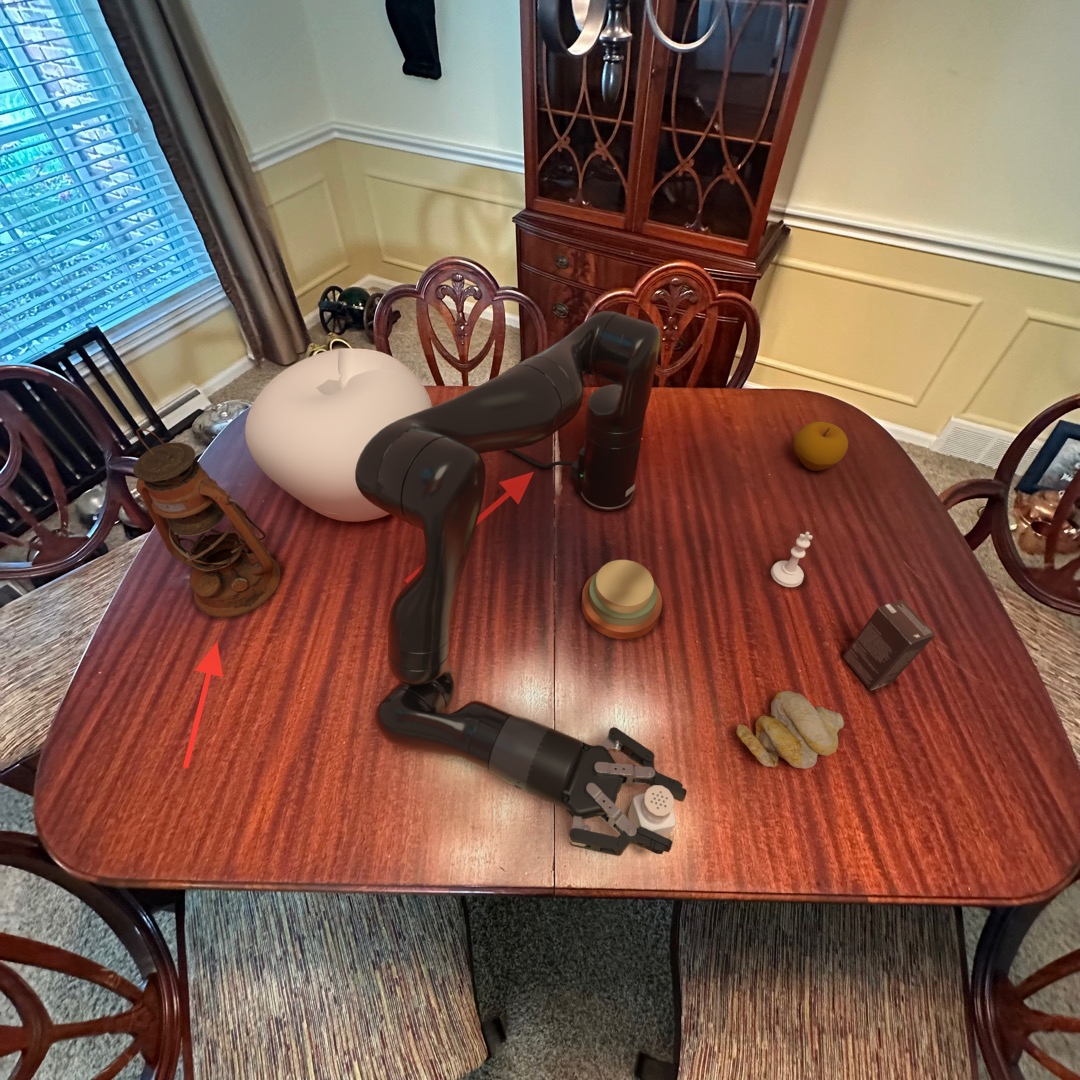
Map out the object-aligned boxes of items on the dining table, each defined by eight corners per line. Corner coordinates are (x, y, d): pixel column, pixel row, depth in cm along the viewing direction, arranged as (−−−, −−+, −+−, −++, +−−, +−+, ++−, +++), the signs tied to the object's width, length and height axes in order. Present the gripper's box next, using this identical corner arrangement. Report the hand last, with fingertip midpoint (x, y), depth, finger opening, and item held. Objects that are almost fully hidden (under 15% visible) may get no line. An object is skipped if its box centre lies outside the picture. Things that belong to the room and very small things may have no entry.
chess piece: (804, 589, 94) (827, 548, 86) (771, 584, 94) (791, 542, 87) (801, 565, 97) (823, 523, 89) (770, 560, 97) (789, 518, 90)
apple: (776, 464, 113) (791, 425, 106) (802, 443, 117) (818, 405, 110) (819, 488, 108) (838, 450, 102) (845, 466, 112) (864, 428, 106)
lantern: (164, 609, 91) (41, 459, 69) (209, 545, 100) (113, 393, 77) (269, 625, 89) (177, 476, 67) (305, 558, 98) (235, 406, 75)
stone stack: (879, 748, 71) (756, 753, 70) (859, 774, 75) (743, 779, 74) (841, 679, 78) (730, 682, 77) (825, 706, 82) (719, 710, 81)
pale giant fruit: (373, 582, 95) (332, 464, 76) (251, 519, 103) (188, 400, 85) (472, 477, 111) (459, 358, 92) (359, 430, 119) (326, 314, 101)
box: (895, 681, 83) (938, 634, 74) (868, 691, 82) (909, 645, 73) (865, 646, 87) (903, 597, 78) (839, 655, 86) (875, 607, 77)
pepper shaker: (657, 805, 72) (670, 777, 65) (669, 840, 70) (683, 815, 63) (625, 813, 72) (635, 785, 65) (636, 848, 69) (647, 823, 62)
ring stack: (566, 614, 91) (567, 590, 86) (606, 563, 97) (609, 538, 93) (637, 653, 86) (642, 630, 82) (673, 597, 93) (680, 573, 88)
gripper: (508, 806, 63) (665, 880, 58) (561, 691, 72) (701, 748, 67) (510, 827, 69) (654, 896, 64) (559, 718, 77) (688, 773, 73)
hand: (677, 820), depth 66 cm, fingers closed on pepper shaker, 5 cm apart
